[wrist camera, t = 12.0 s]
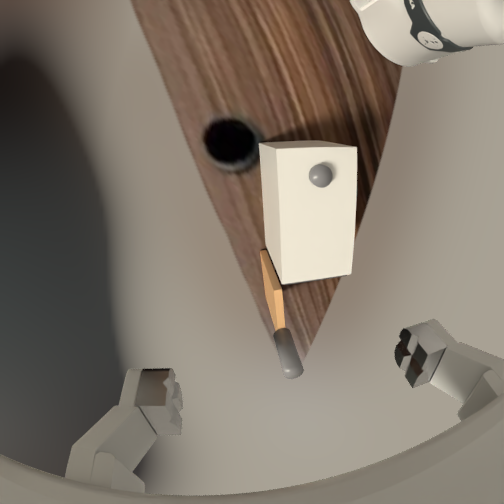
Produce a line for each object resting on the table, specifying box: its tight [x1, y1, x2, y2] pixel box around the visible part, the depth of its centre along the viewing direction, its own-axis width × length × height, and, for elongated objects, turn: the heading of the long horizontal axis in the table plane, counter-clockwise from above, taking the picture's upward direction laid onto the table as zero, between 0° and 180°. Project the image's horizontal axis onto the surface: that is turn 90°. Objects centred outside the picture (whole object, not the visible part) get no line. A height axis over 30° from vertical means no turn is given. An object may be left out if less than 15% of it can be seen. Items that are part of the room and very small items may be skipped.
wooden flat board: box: [260, 250, 304, 379], centre depth 38 cm, size 2×9×19 cm, turn 7°
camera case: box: [259, 140, 357, 285], centre depth 36 cm, size 16×10×13 cm, turn 4°
